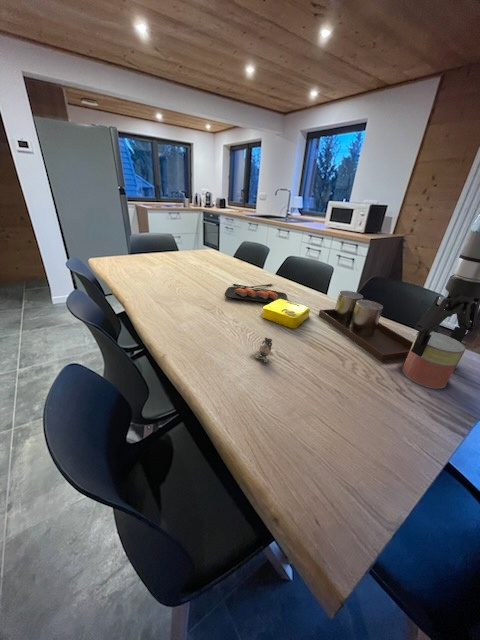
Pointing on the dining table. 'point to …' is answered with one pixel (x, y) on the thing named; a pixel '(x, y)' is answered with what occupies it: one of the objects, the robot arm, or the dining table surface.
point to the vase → (265, 349)
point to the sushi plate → (254, 294)
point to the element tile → (286, 313)
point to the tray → (374, 339)
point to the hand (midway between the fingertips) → (434, 351)
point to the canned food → (434, 361)
